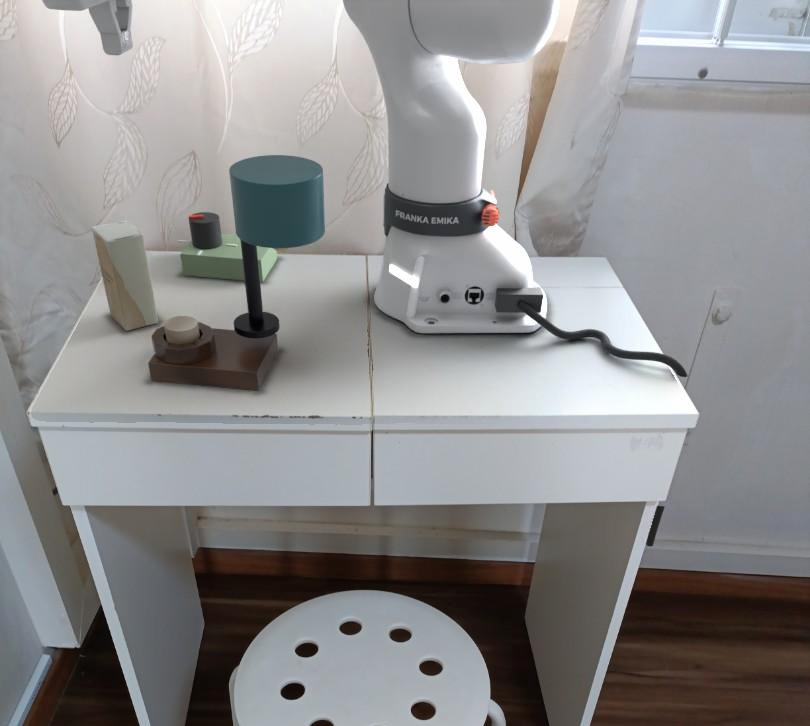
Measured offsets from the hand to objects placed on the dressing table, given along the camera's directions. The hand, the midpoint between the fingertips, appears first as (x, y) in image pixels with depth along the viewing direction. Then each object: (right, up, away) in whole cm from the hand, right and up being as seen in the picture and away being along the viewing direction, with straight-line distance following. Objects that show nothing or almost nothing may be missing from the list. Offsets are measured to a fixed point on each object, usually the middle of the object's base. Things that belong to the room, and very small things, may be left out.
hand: (119, 52), depth 76 cm
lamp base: (+6, -27, +14) cm, 31 cm away
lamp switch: (+3, -25, +11) cm, 27 cm away
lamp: (+14, -24, +12) cm, 30 cm away
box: (-6, -20, +21) cm, 30 cm away
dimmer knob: (+1, -6, +32) cm, 33 cm away
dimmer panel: (+3, -9, +34) cm, 35 cm away
